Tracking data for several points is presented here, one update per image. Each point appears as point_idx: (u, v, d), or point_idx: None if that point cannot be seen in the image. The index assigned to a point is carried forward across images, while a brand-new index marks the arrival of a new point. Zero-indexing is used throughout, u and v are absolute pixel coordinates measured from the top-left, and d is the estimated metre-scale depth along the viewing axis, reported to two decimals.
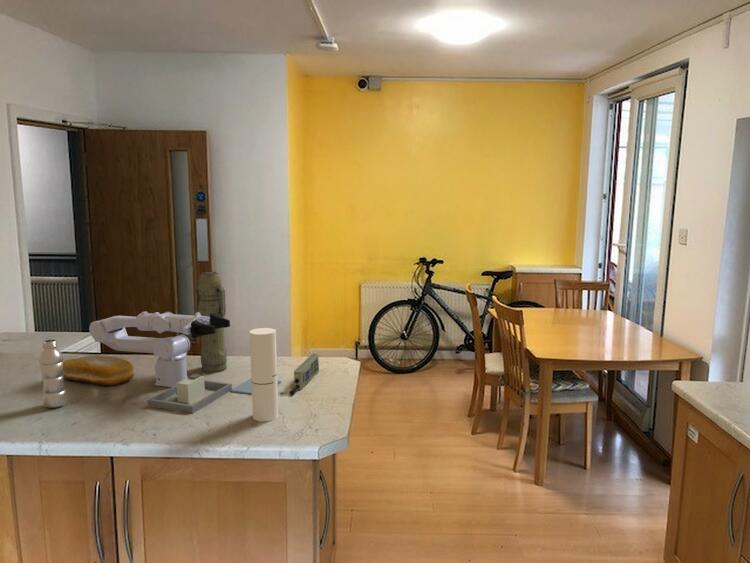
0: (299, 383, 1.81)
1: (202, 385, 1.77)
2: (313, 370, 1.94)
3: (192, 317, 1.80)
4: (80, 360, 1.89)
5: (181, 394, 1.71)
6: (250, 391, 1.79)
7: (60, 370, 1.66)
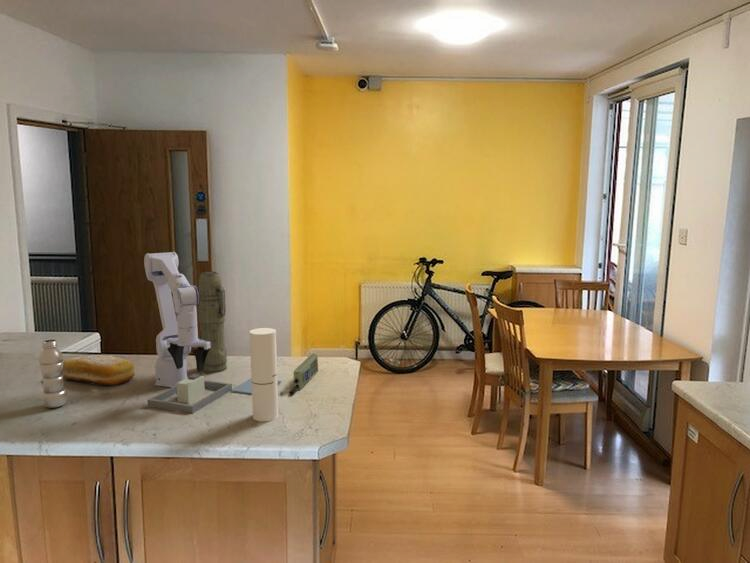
0: (299, 383, 1.81)
1: (202, 385, 1.77)
2: (312, 370, 1.94)
3: (179, 339, 1.70)
4: (80, 360, 1.89)
5: (181, 394, 1.71)
6: (250, 391, 1.79)
7: (60, 370, 1.66)
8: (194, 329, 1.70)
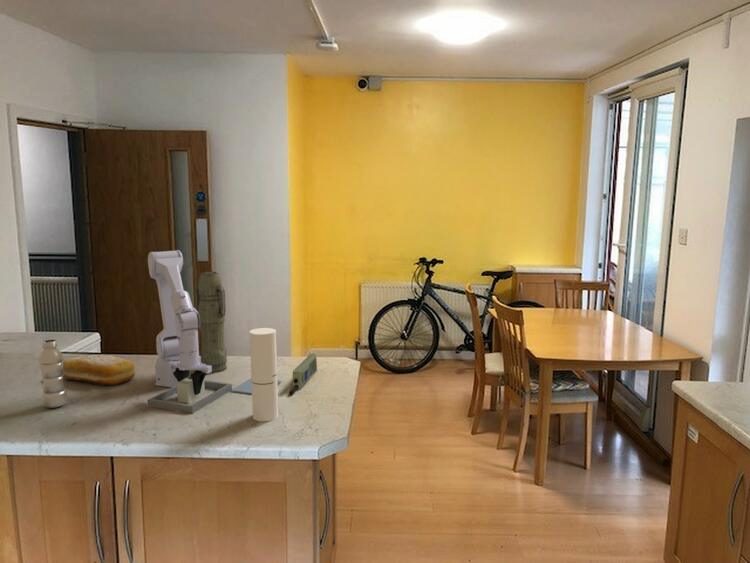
0: (298, 383, 1.81)
1: (202, 385, 1.77)
2: (311, 370, 1.94)
3: (181, 363, 1.71)
4: (81, 360, 1.89)
5: (181, 394, 1.71)
6: (250, 391, 1.79)
7: (60, 370, 1.66)
8: (195, 353, 1.71)
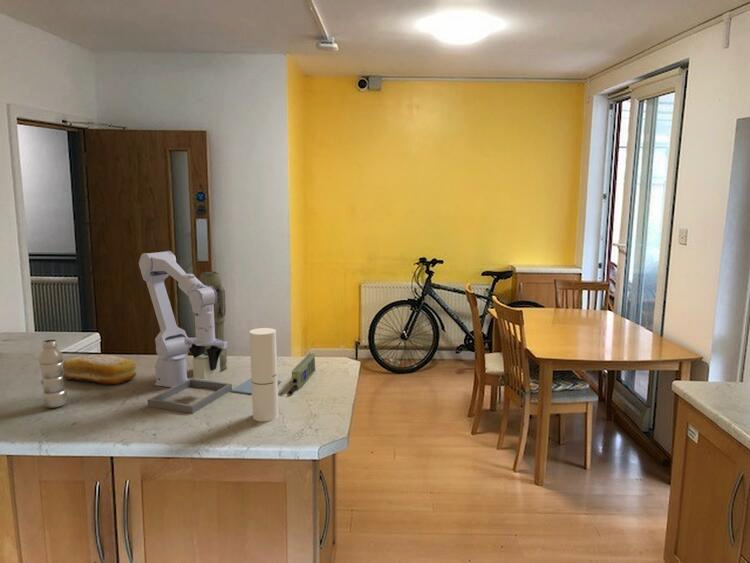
0: (297, 383, 1.81)
1: (217, 362, 1.78)
2: (310, 370, 1.94)
3: (197, 338, 1.72)
4: (82, 360, 1.89)
5: (197, 370, 1.72)
6: (250, 391, 1.79)
7: (60, 370, 1.66)
8: (211, 329, 1.72)
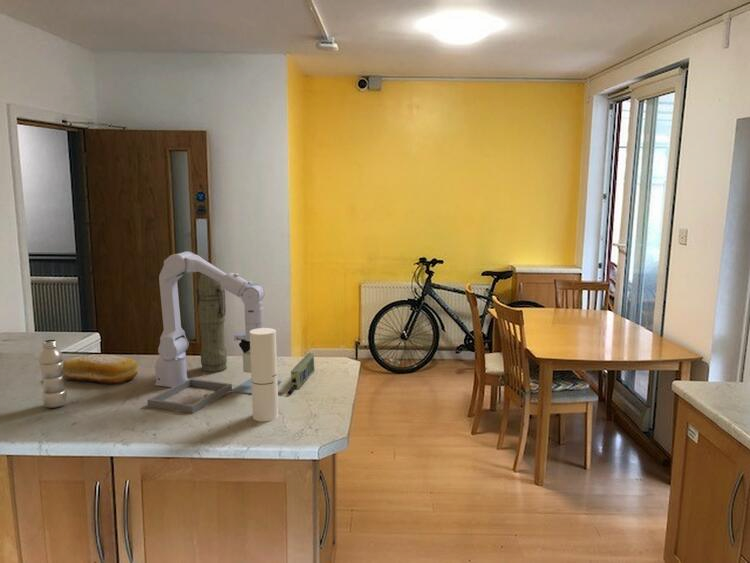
0: (296, 383, 1.81)
1: None
2: (309, 370, 1.94)
3: (247, 334, 1.79)
4: (82, 359, 1.89)
5: (247, 364, 1.79)
6: (250, 391, 1.79)
7: (60, 370, 1.66)
8: (261, 325, 1.80)
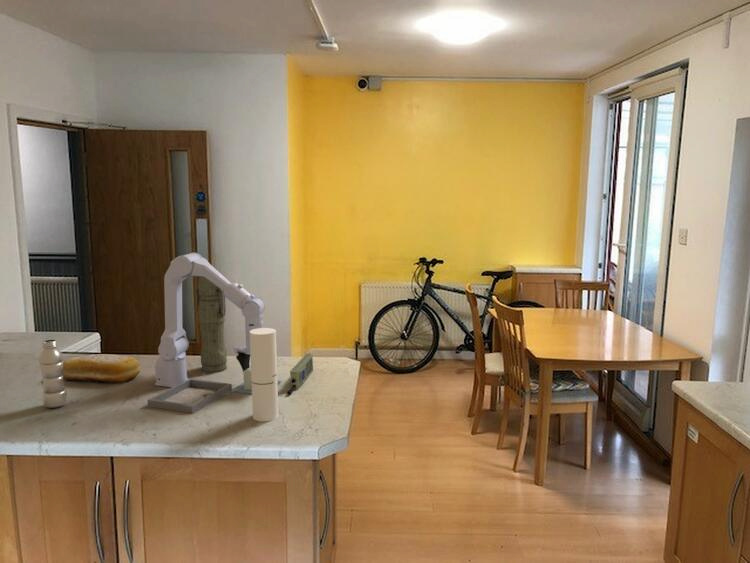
0: (295, 383, 1.81)
1: None
2: (308, 370, 1.94)
3: (248, 347, 1.80)
4: (84, 359, 1.89)
5: (248, 381, 1.80)
6: (250, 391, 1.79)
7: (60, 370, 1.66)
8: None
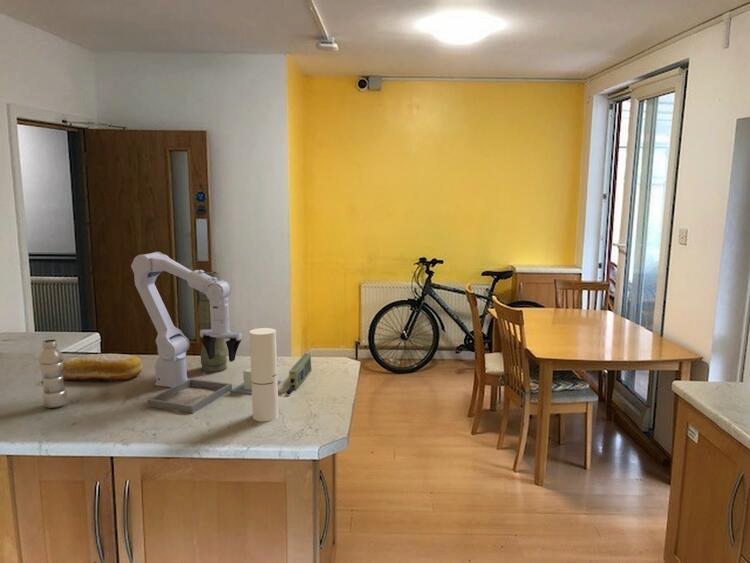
0: (294, 383, 1.82)
1: None
2: (306, 370, 1.94)
3: (213, 330, 1.78)
4: (85, 359, 1.90)
5: (248, 381, 1.80)
6: (250, 391, 1.79)
7: (60, 370, 1.66)
8: (226, 321, 1.79)
